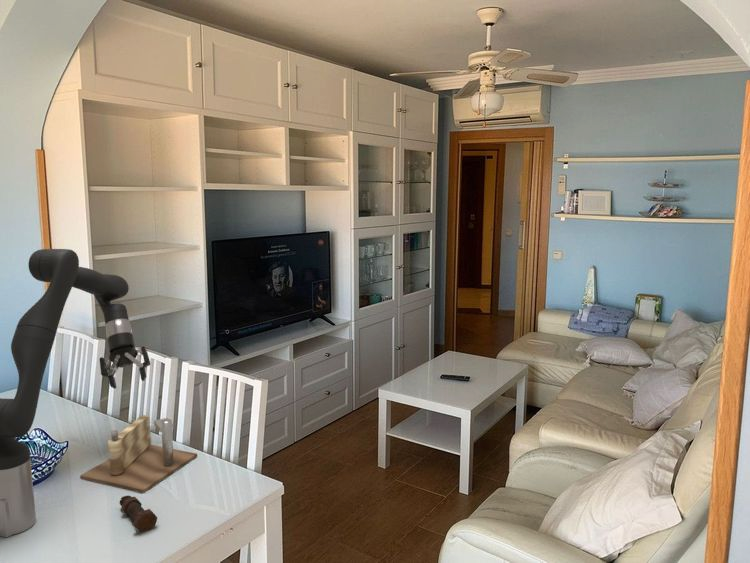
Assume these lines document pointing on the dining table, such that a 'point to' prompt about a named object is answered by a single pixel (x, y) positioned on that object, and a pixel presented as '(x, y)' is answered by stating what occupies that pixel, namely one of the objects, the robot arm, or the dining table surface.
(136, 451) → the link
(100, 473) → the hinge base
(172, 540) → the dining table surface
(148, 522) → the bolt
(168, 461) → the post
